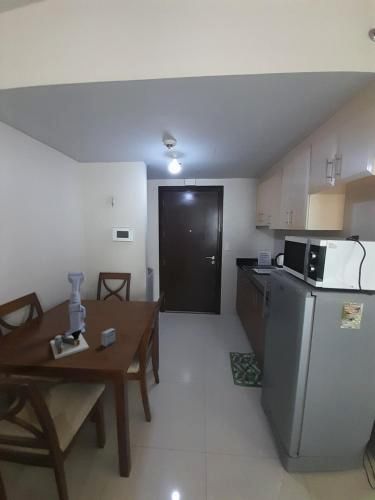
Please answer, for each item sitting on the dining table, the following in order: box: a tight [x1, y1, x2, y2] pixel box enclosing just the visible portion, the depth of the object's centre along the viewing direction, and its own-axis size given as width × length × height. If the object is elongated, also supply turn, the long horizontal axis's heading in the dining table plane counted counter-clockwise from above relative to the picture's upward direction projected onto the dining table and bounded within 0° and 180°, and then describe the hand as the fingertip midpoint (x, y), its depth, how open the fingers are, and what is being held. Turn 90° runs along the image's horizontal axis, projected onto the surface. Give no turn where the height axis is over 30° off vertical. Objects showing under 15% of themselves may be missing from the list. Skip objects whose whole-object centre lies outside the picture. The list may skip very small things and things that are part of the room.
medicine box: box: [100, 327, 117, 347], centre depth 140 cm, size 8×4×9 cm, turn 151°
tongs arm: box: [54, 334, 80, 346], centre depth 136 cm, size 16×4×4 cm, turn 72°
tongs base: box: [53, 338, 62, 354], centre depth 133 cm, size 17×5×3 cm, turn 38°
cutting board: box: [50, 333, 90, 360], centre depth 137 cm, size 22×18×2 cm
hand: (76, 341), depth 138 cm, fingers closed
